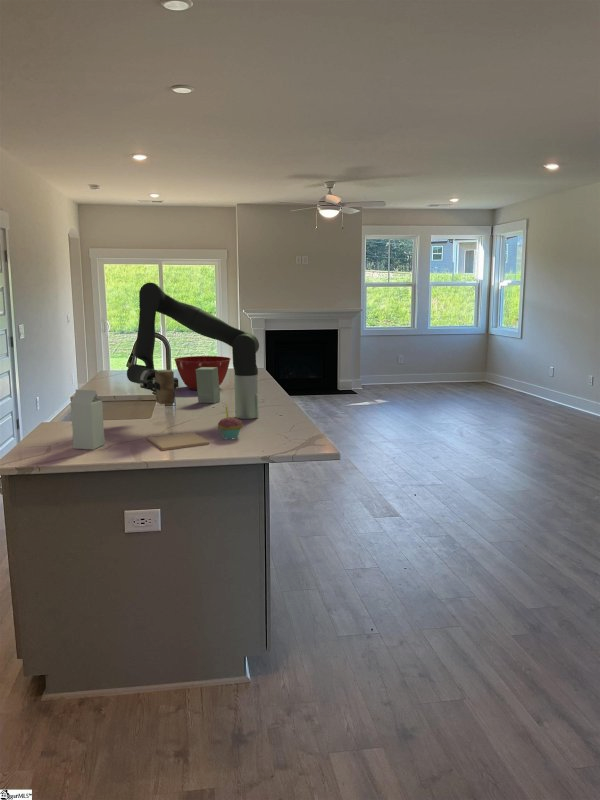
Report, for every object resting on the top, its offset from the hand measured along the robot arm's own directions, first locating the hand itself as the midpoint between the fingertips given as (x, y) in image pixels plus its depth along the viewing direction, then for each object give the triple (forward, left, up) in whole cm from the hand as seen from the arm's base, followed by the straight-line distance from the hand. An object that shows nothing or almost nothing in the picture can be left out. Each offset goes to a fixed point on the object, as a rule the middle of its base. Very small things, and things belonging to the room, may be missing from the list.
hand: (167, 386), depth 213 cm
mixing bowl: (+4, -104, -18) cm, 106 cm away
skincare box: (-4, -65, -18) cm, 68 cm away
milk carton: (+24, +13, -18) cm, 32 cm away
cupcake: (-21, +1, -18) cm, 28 cm away
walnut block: (+1, -2, -6) cm, 7 cm away
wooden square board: (-4, +7, -18) cm, 20 cm away
